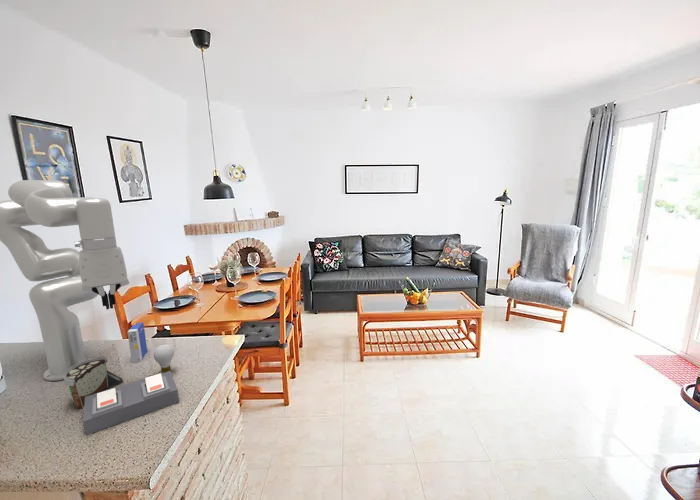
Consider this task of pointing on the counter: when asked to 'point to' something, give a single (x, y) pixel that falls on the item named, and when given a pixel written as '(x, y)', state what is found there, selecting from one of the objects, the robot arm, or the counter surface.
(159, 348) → the light bulb
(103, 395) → the rocker
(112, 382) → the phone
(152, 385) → the rocker
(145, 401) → the rocker switch panel
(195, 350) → the counter surface
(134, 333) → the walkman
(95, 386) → the food container
